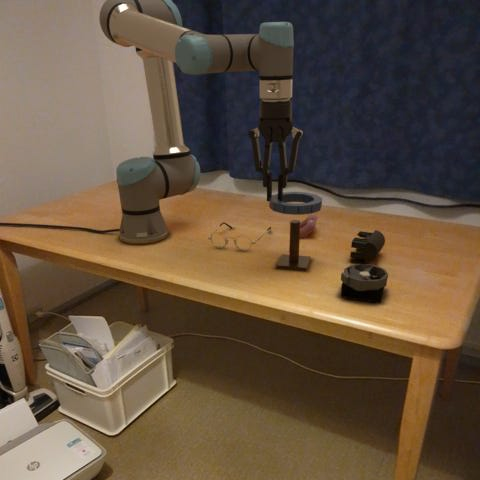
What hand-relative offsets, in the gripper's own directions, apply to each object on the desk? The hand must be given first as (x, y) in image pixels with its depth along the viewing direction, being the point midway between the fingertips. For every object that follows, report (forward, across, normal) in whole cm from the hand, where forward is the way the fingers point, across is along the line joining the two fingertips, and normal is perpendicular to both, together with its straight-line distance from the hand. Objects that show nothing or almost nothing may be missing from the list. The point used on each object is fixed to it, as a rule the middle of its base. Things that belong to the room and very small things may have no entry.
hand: (274, 199), depth 123 cm
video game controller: (+18, +6, +25) cm, 31 cm away
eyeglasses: (+17, -14, +15) cm, 27 cm away
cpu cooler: (+18, +24, -14) cm, 33 cm away
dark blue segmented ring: (+2, +5, 0) cm, 6 cm away
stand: (+17, +6, 0) cm, 18 cm away
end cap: (+18, +24, +8) cm, 31 cm away
